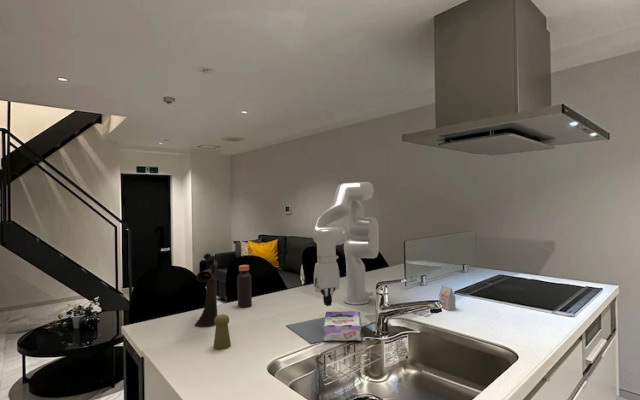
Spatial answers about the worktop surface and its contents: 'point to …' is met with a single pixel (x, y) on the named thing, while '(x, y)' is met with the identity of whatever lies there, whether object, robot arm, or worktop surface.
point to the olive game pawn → (221, 332)
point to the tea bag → (447, 298)
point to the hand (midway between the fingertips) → (327, 305)
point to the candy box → (342, 326)
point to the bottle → (244, 287)
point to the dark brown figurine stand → (208, 293)
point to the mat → (309, 330)
